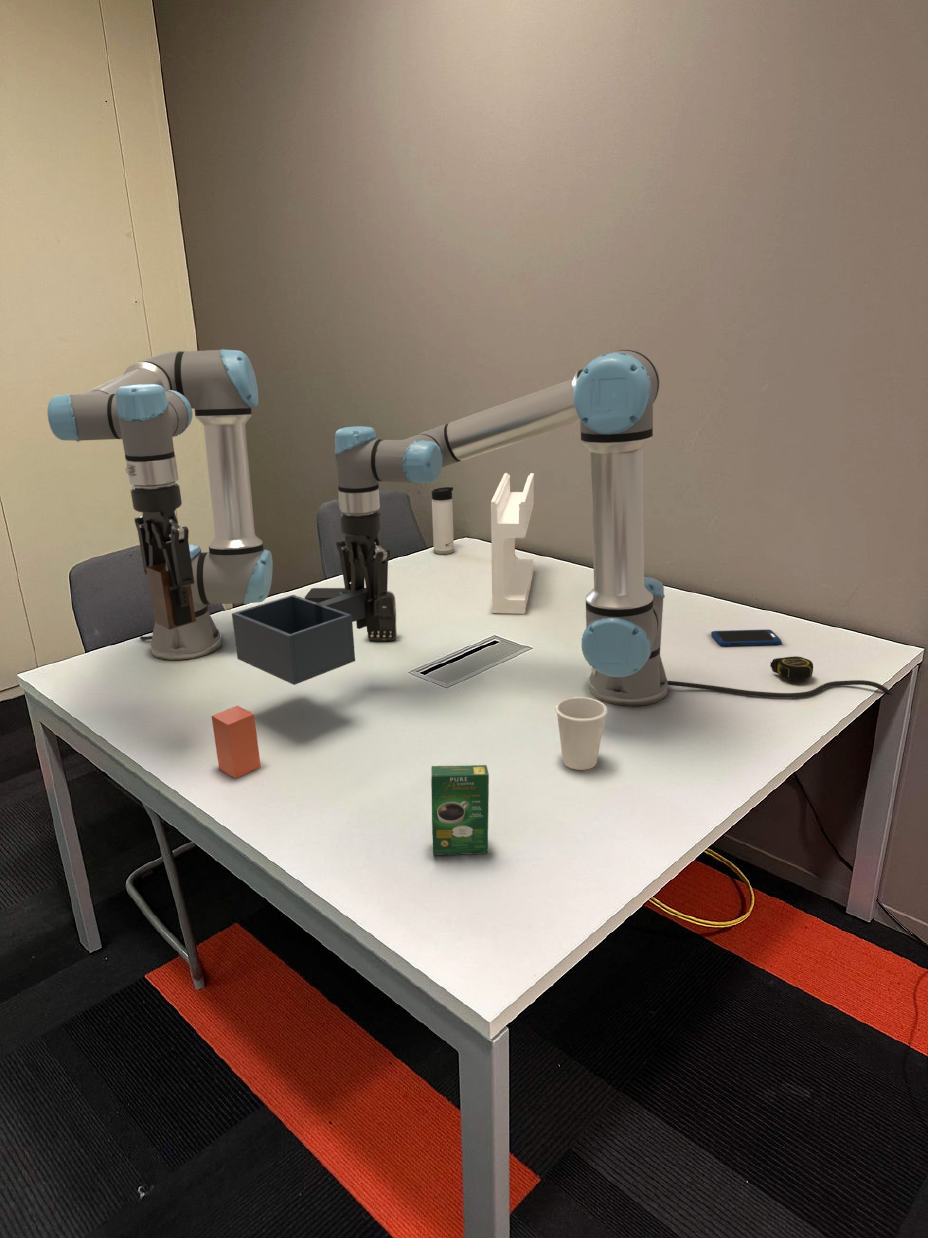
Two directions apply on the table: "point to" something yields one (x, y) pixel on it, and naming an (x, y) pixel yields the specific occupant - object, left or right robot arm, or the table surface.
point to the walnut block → (164, 596)
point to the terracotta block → (236, 741)
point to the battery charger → (386, 620)
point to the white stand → (510, 546)
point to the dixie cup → (580, 731)
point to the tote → (299, 635)
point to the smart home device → (324, 594)
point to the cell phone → (746, 637)
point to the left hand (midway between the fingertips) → (175, 619)
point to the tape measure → (793, 668)
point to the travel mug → (442, 520)
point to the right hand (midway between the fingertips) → (368, 628)
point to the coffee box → (460, 809)
